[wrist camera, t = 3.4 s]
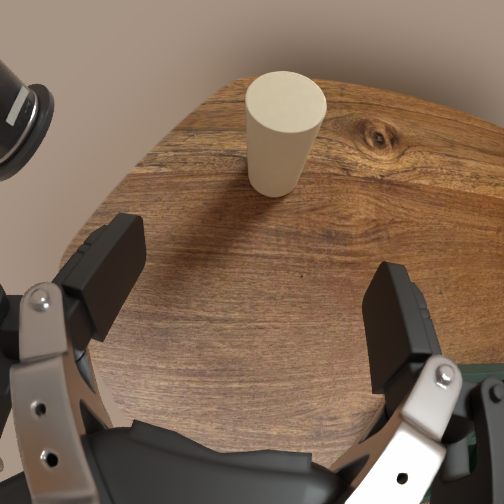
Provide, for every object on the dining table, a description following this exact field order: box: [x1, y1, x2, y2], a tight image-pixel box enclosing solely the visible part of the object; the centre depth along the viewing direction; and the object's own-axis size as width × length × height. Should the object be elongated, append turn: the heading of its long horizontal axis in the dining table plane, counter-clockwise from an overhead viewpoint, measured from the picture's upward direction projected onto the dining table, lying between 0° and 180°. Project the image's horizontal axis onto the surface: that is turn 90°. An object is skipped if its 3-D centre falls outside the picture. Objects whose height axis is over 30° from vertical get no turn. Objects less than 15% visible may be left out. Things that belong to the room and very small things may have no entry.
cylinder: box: [245, 71, 327, 197], centre depth 18 cm, size 4×4×10 cm
